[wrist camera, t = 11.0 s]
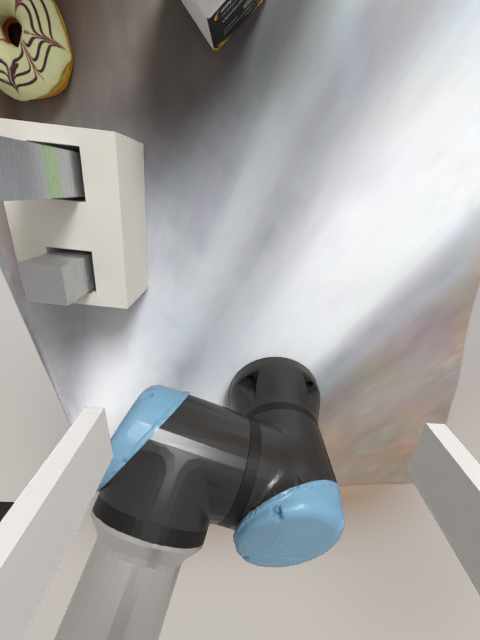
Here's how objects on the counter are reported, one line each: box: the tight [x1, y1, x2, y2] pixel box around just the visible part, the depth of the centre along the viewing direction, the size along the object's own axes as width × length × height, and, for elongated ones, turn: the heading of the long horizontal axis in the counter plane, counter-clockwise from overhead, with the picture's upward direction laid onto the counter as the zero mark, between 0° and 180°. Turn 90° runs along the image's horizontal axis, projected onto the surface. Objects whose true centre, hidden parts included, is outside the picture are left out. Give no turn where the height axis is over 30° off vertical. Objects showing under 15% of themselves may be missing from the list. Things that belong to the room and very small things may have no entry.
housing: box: [0, 118, 148, 309], centre depth 33 cm, size 12×18×8 cm, turn 174°
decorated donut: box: [0, 0, 74, 101], centre depth 28 cm, size 10×11×4 cm
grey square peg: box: [18, 248, 96, 306], centre depth 33 cm, size 4×4×13 cm
